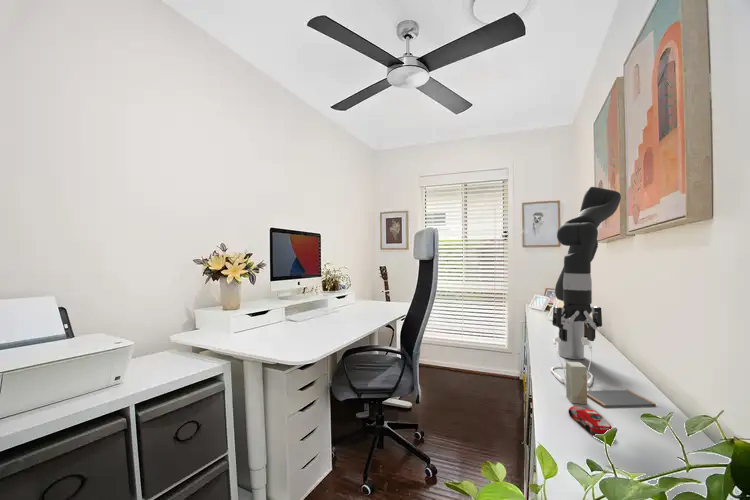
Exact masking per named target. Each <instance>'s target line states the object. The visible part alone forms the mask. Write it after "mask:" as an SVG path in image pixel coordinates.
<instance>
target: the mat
mask: <svg viewBox="0 0 750 500" xmlns="http://www.w3.org/2000/svg"><path fill="white" fill-rule="evenodd" d="M587 399H589V400H592V401H593V402H594V403H596V404H598V405H599V406H601V407H603V408H629V407H631V408H632V407H633V408H635V407H638V408H639V407H656V403H655V402H653V401H651V400H649V399H647V398H645V397H644V396H642V395H640V394H638V393H636V392H634V391H632V390H630V389H615V390H612V389H611V390H606V389H605V390H587Z"/></svg>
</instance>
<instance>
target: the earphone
mask: <svg viewBox="0 0 750 500" xmlns="http://www.w3.org/2000/svg"><path fill="white" fill-rule="evenodd" d="M581 341H582V344H583V345H584V346H588V348H589V350H590V358H589V364H588V367H587V388H588V387H591V386H592V384H593V383H594V380H593V379H594V375H593V374H592V373H591V372H590V367H591V365H592V355H593V354H592V353H593V351H592V348H593V346H592V343H591V341H589V340H587V337H586V338H585V337H584V338H582V339H581ZM558 342H561V339H560V338H559V335H556V336H555V337H553V340H552V343H553V345H554V348H555V351H556V355H557V357H558V360H559V362H560V365H559V366H557V365H556V366H552V367H550V372H551V373H552V374H553V375H554V377H555V378H556V379H557V381H559V382H560V383H562V384H563V383H565V382H566V365H565V366H564V365H563V362H562V360H561V358H560V357H561V356H560V355H559V353H558V349H557V346H556V345H557V343H558ZM554 369H563V373H564V379H563V378H562V376H560V375H559V374H558V373H556V372H555V371H554ZM588 375H590V378H588V377H589V376H588Z"/></svg>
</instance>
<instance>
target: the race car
mask: <svg viewBox="0 0 750 500" xmlns="http://www.w3.org/2000/svg"><path fill="white" fill-rule="evenodd" d="M568 415H569V416H570V417H571V418H572V419H574V420H575V421H576V422H577V423H578V424H579V425H581V426H582V427H583V428H584V429H585V430H586V431H587V432H588V433H589V434H592V435H594V434H604V433H605V432H606V431H607V430H609V429H611V428H612V425H611V424H610V423H609V422H608V421H607V420H606V419H605V418H604V417H603V415H601V414H600V413H599V412H598V411H596V410H594V409H588V408H587V407H584V406H579V405H578V406H577V405H573V406H570V407H569V408H568ZM612 429H613V428H612Z"/></svg>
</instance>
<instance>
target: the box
mask: <svg viewBox="0 0 750 500" xmlns="http://www.w3.org/2000/svg"><path fill="white" fill-rule="evenodd" d="M565 367H566V368H565V374H566V380H565V386H566V387H565V390H566V391H565V393H566V396H565V397H566V398H567V399H568V401H570V403H572V404H579V405H580V404H582V405H583V404H584V405H587V404H588V397H587V391H588V386H587V382H588V378H587V371H588V367H587V366H586V365H584V364H583V363H582V362H579V361H565Z"/></svg>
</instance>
